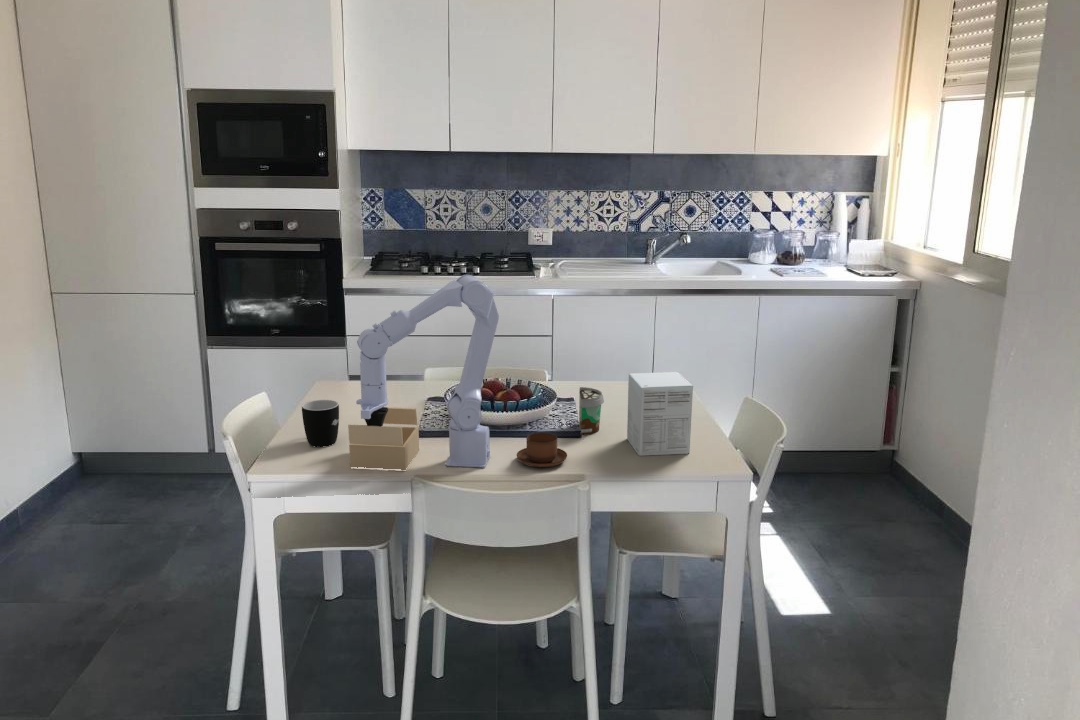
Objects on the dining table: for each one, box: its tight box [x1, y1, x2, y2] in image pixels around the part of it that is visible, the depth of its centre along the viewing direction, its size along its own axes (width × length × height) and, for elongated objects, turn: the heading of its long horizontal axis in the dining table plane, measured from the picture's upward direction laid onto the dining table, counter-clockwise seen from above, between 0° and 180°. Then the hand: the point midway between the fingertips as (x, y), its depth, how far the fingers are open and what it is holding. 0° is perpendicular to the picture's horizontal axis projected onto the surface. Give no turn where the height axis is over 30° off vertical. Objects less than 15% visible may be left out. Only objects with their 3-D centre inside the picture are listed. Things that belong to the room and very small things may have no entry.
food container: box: [578, 386, 605, 436], centre depth 237 cm, size 12×6×10 cm, turn 0°
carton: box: [348, 426, 420, 471], centre depth 215 cm, size 13×14×6 cm
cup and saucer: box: [516, 432, 568, 468], centre depth 214 cm, size 12×12×6 cm
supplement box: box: [626, 371, 694, 457], centre depth 224 cm, size 13×13×18 cm
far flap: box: [383, 406, 419, 426], centre depth 220 cm, size 12×4×1 cm
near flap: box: [347, 424, 403, 446], centre depth 206 cm, size 12×4×1 cm
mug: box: [301, 399, 340, 448], centre depth 227 cm, size 12×9×10 cm
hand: (375, 439), depth 207 cm, fingers closed, pressing on near flap
